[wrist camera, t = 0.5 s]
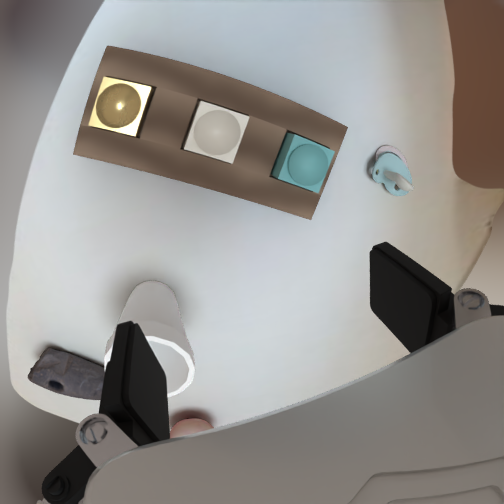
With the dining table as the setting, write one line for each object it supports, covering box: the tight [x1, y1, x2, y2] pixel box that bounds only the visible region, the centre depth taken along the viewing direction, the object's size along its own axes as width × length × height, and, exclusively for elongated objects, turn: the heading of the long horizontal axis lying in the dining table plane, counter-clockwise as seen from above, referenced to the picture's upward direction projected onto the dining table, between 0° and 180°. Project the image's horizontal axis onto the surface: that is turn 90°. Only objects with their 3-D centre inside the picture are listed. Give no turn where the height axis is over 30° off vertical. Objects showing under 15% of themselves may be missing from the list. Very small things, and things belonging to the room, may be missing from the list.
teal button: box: [270, 133, 335, 193], centre depth 33 cm, size 5×5×4 cm
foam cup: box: [104, 281, 195, 398], centre depth 34 cm, size 10×9×13 cm
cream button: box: [184, 101, 250, 164], centre depth 29 cm, size 5×5×4 cm
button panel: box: [73, 46, 348, 220], centre depth 31 cm, size 12×28×3 cm, turn 70°
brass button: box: [88, 77, 154, 136], centre depth 26 cm, size 5×5×4 cm
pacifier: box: [372, 145, 414, 196], centre depth 37 cm, size 7×6×6 cm
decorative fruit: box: [170, 418, 214, 439], centre depth 47 cm, size 9×8×10 cm
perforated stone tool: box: [28, 348, 105, 400], centre depth 39 cm, size 15×5×7 cm, turn 61°
